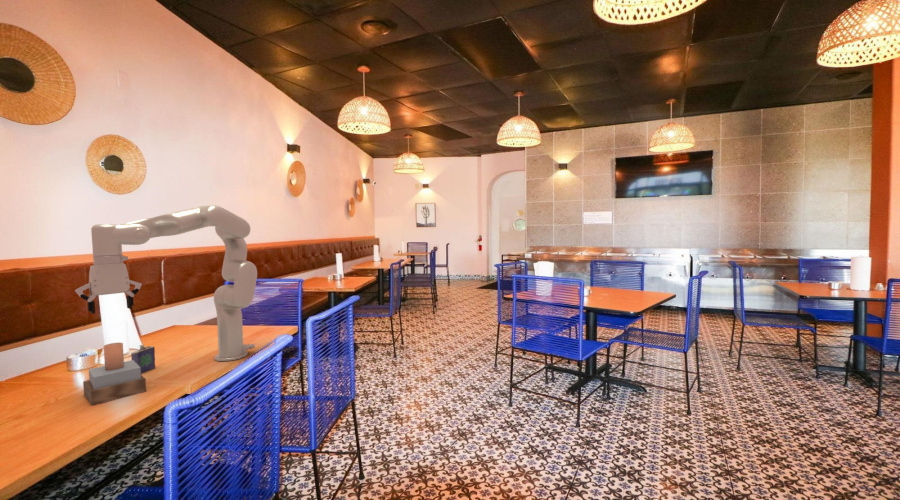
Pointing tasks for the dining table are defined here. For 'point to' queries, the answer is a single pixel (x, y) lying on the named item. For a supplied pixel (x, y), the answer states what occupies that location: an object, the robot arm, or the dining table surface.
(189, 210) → the robot arm
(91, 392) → the bottom block
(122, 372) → the top block
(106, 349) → the brown rectangular block
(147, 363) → the dark panel with clover
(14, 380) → the dining table surface
